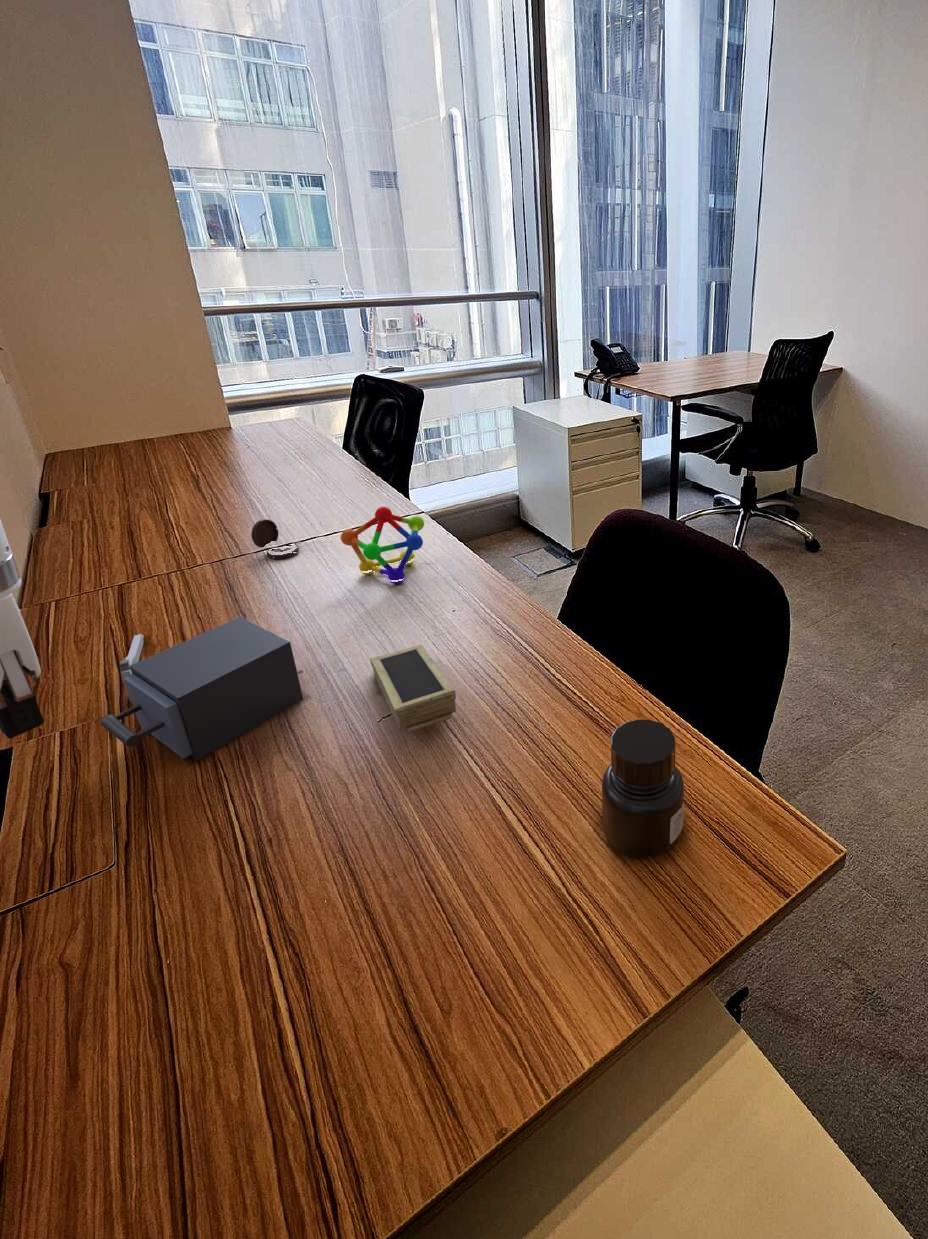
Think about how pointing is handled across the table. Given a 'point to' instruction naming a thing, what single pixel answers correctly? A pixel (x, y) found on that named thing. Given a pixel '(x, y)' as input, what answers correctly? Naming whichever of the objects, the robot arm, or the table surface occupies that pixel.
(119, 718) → the drawer
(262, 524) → the compass
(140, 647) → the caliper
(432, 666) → the box
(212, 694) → the cabinet
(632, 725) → the ink bottle
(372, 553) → the educational toy
